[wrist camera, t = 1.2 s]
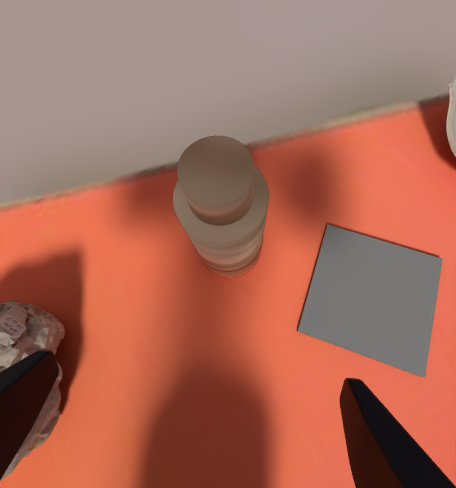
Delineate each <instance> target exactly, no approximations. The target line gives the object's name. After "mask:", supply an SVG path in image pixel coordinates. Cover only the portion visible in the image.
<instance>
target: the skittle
mask: <svg viewBox="0 0 456 488" xmlns="http://www.w3.org/2000/svg"><path fill="white" fill-rule="evenodd" d="M177 178H178V181H177V183H176V185H175V188H174V192H173V206H174V210H175V213H176V216H177V218H178V219H179V221H180V223H181V225H182V226H183V228H184V230H185V231H186V233H187V235H188V237H189V238H190V240H191V242H192V243H193V245H194V247H195V250H196V251H197V253H198V255H199V257H200V258H201V259H202V261H203V262H204V264H205V265H206V267H207V268H208V269H209V270H210V271H211V272H213V273H214V274H216V275H218V276H221V277H225V278H235V277H239V276H242V275H244V274H246V273H248V272H249V271H250V270H251V269H252V268H253V267H254V266H255V265H256V263H257V261H258V259H259V255H260V250H261V247H262V242H263V232H264V226H265V220H266V214H267V208H268V201H269V191H268V186H267V183H266V180H265V178H264V176H263V175H262V173H261V172H260V170H259V169H258V168H257V167H256V166H255V165H254V160H253V157H252V155H251V153H250V152H249V150H248V149H247V148H246V147H245V146H244V145H243V144H242V143H240V142H239V141H237V140H235V139H233V138H230V137H225V136H210V137H206V138H203V139H200V140H198V141H196V142H194V143H193V144H191V145H190V146H189V147H188V148H187V149H186V150H185V151H184V153H183V154H182V155H181V157H180V159H179V162H178V166H177Z"/></svg>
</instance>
